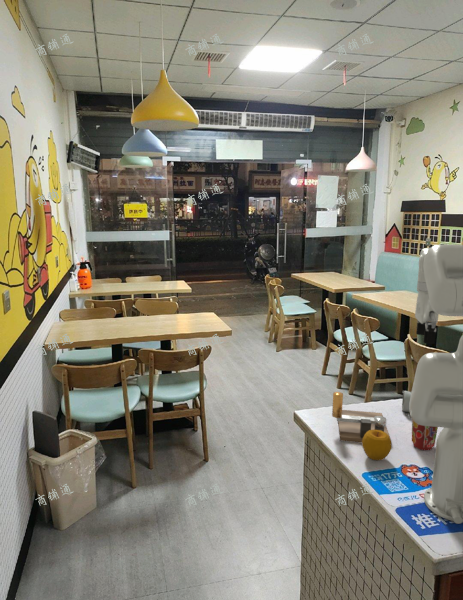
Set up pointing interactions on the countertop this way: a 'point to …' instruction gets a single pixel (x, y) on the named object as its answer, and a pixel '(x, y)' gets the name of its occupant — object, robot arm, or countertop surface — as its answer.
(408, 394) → the ceramic mug
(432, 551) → the countertop surface
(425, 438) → the smoothie
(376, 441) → the apple
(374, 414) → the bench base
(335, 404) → the lever
